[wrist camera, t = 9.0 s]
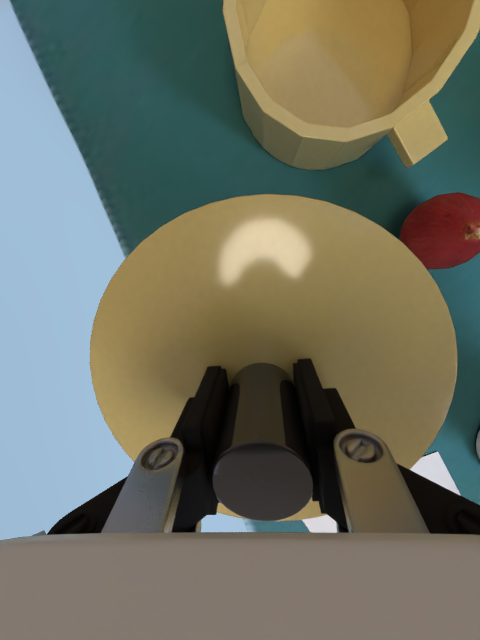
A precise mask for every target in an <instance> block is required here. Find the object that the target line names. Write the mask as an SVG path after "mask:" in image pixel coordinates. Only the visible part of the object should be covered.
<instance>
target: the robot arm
mask: <svg viewBox="0 0 480 640" xmlns="http://www.w3.org/2000/svg"><path fill="white" fill-rule="evenodd" d="M293 373H294V385H295V391H296V396H297V401H298V405H299V410H300V415H301V420H302V424H303V429H304V434H305V438H306V443H307V448H308V452H309V457H310V461H311V465H312V470H313V475H314V491H313V494H312V501H319V506H320V511H321V514H327V515H328V516H330V517H331V518H332V519H333V520H335V521H336V528H337V533H317V532H239V533H238V532H235V533H234V532H223V533H222V532H217V533H216V532H213V533H212V532H211V533H210V532H205V533H201V519H202V518H203V517H205V516H206V515H216V513H217V507H218V503H221V502H220V501H219V500H218V498H217V497H216V495H215V493H214V491H213V488H212V484H211V471H212V466H213V462H214V457H215V453H216V448H217V444H218V439H219V435H220V430H221V426H222V421H223V417H224V412H225V408H226V403H227V399H228V394H229V385H228V379H227V372H226V369H222V368H221V366H209V367H207V369H206V372H205V374H204V376H203V378H202V381H201V383H200V385H199V388H198V390H197V392H196V394H195V397H190V398H189V399H188V400H187V402H186V404H185V406H184V409H183V411H182V413H181V415H180V417H179V419H178V421H177V423H176V426H175V428H174V430H173V432H172V434H171V436H170V438H162V439H159V440H156V441H154V442H152V443H150V444H149V445H147V446H146V447H145V448H144V449H143V450H142V451H141V452H140V454H139V455H138V457H137V459H136V461H135V463H134V465H133V467H132V469H131V471H130V473H129V475H128V477H126V478H124V479H123V480H121V481H119V482H118V483H116V484H115V485H113V486H111V487H110V488H108V489H107V490H105V491H103V492H102V493H100V494H99V495H97V496H95V497H94V498H92V499H91V500H89V501H87V502H86V503H84V504H83V505H81V506H79V507H78V508H76V509H75V510H73V511H72V512H70V513H68V514H67V515H66V516H64V517H63V518H62V519H60V520H59V521H58V522H57V523H56V524H55V525H54V526H53V527H52V528H51V530H50V531H49V532H48V534H47V535H46V533H45V531H42V532H39V533H37V534H35V535H33V536H28V537H18V538H12V539H6V540H0V640H480V505H478V504H476V503H474V502H472V501H470V500H468V499H466V498H464V497H462V496H460V495H458V494H456V493H454V492H452V491H450V490H448V489H446V488H444V487H442V486H440V485H439V484H437V483H435V482H433V481H431V480H429V479H427V478H425V477H423V476H421V475H419V474H417V473H415V472H413V471H411V470H409V469H407V468H405V467H403V466H401V465H399V464H397V463H396V462H395V460H394V458H393V456H392V453H391V451H390V449H389V447H388V446H387V444H386V443H385V442H384V441H383V440H382V439H381V438H380V437H379V436H377V435H375V434H373V433H371V432H369V431H365V430H362V429H356V427H355V425H354V423H353V421H352V419H351V417H350V415H349V413H348V411H347V409H346V407H345V405H344V403H343V401H342V399H341V397H340V395H339V393H338V391H337V389H336V388H324V389H323V387H322V385H321V382H320V380H319V377H318V375H317V372H316V370H315V367H314V365H313V362H312V360H311V358H309V359H298V360H297V363H293ZM476 451H477V454H478V457H479V459H480V431H479V433H478V436H477V440H476Z"/></svg>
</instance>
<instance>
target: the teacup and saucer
mask: <svg viewBox="0 0 480 640" xmlns="http://www.w3.org/2000/svg"><path fill="white" fill-rule="evenodd" d="M410 470H411V471H413V472H415V473H417V474H419V475H421V476H423V477H425V478H427V479H429V480H431V481H433V482H435V483H437V484H439V485H440V486H442V487H444V488H446V489H448V490H450V491H452V492H454V493H456V494H458V495H460V493H459V491H458V489H457V487H456V485H455V483H454V481H453V479H452V478H451V476H450V474H449V472H448V470H447V468H446V466H445V464H444V462H443V461H442V459H441V457H440V455H439V453H438V452H435V453H432V454H430V455H427V456H424V457H422V458H420V459H419V460H418V461H417V463H416V464H415V465H414V466H413V467H412V468H411V469H410ZM460 496H461V495H460ZM302 521H303V522H304V524H305V525H306V526H307V528H308V529H309V530H310V532H317V533H337V528H336V521H335V520H333V519H332V518H331V517H330V516H328V515H324V516H320V517H315V518H309V519H302Z"/></svg>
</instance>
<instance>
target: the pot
mask: <svg viewBox="0 0 480 640" xmlns="http://www.w3.org/2000/svg"><path fill="white" fill-rule="evenodd" d="M223 16H224V22H225V27H226V33H227V38H228V44H229V49H230V55H231V60H232V66H233V71H234V77H235V82H236V86H237V91H238V95H239V100H240V104H241V109H242V113H243V118H244V120H245V121H246V123H247V124H248V127H249V128H250V130H251V132H252V134H253V135H254V137H255V138H256V139H257V141H258V142H259V143H260V145H261V146H262V147H263V148H264V149H265V150H266V151H267V152H268V153H270V154H271V155H272V156H274V157H275V158H276V159H278V160H280V161H282V162H283V163H285V164H288V165H290V166H293V167H296V168H301V169H306V170H325V169H330V168H334V167H338V166H341V165H344V164H346V163H349V162H351V161H354V160H356V159H358V158H360V157H361V156H362V155H363V154H365V153H366V152H367V151H369V150H370V149H371V148H372V147H373V146H375V145H376V144H377V143H379V142H380V141H381V140H382V139H384V138H385V137H386V136H387V135H388V137H389V139H390V140H391V142H392V144H393V146H394V148H395V149H396V151H397V153H398V155H399V157H400V158H401V160H402V162H403V164H404V166H405V167H406V168H408V167H410V166H412V165H414V164H416V163H417V162H418V161H420V160H421V159H422V158H424V157H425V156H426V155H428V154H429V153H430V152H432V151H433V150H435V149H436V148H437V147H439V146H440V145H441V144H443V143H444V142H445V141H447V139H448V137H447V135H446V133H445V131H444V129H443V127H442V125H441V123H440V121H439V119H438V117H437V115H436V113H435V112H434V110H433V108H432V106H431V104H430V102H429V100H430V99H431V98H432V97H433V96H434V95H436V94H437V93H438V92H439V91H440V90H441V89H442V87H443V86H444V84H445V83H446V81H447V80H448V78H449V77H450V75H451V74H452V72H453V71H454V69H455V68H456V66H457V65H458V63H459V62H460V60H461V59H462V57H463V56H464V54H465V53H466V52H467V50H468V49H469V47H470V46H471V44H472V43H473V41H474V40H475V38H476V37H477V34H478V32H479V29H480V0H223Z"/></svg>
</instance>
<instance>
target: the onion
mask: <svg viewBox="0 0 480 640" xmlns="http://www.w3.org/2000/svg"><path fill="white" fill-rule="evenodd" d="M400 241H401V242H403V243H404V244H405V245H406V247H407V248H408V249H409V250H410V251H411V252H412V253H413V254H414V255H415V256H416V257H417V258H418V259H419V260H420V261H421V262H422V263H423V265H424V266H425V268H426V269H444V268H451V267H454V266H457V265H460V264H462V263H465V262H467V261H469V260H470V259H472V258H473V257H474V256H476V255H477V254H478V253H479V252H480V199H479V198H477V197H474V196H470V195H467V194H464V193H459V192H458V193H450V194H442V195H437V196H435V197H433V198H431V199H429V200H427V201H425V202H423V203H421V204H419V205H418V206H417V207H416V208H415V209H414V210H413V211H412V212H411V213H410V214H409V215H408V216H407V218H406V219H405V221H404V223H403V225H402V227H401V233H400Z"/></svg>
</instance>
